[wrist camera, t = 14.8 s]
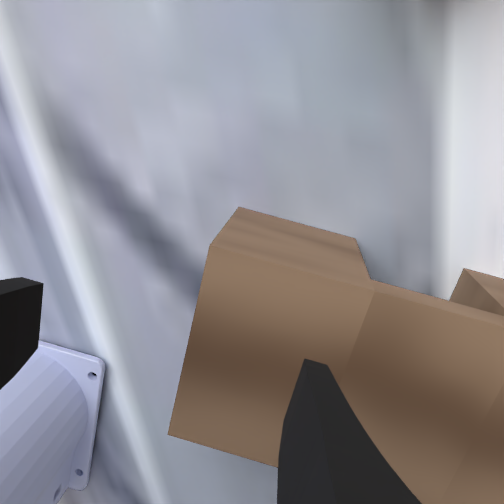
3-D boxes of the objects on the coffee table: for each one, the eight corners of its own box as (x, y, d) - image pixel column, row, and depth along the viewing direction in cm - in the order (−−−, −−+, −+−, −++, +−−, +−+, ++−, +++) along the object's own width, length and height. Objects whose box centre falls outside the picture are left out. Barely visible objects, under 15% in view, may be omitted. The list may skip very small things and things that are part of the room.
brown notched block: (506, 439, 21) (578, 557, 16) (203, 352, 22) (167, 434, 16) (586, 301, 19) (706, 382, 13) (238, 206, 19) (209, 245, 14)
